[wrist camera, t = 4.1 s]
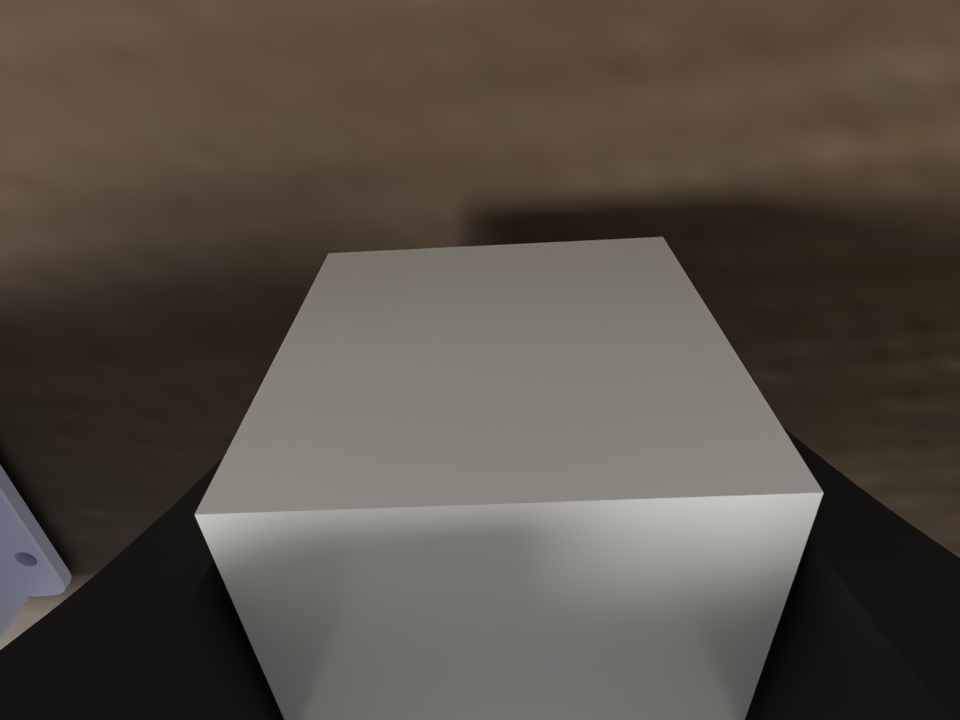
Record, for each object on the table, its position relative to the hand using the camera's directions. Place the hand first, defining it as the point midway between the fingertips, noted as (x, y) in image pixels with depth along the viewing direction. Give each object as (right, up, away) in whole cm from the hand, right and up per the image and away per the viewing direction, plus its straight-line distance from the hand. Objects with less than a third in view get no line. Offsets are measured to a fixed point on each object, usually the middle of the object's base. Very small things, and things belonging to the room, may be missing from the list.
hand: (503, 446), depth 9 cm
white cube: (0, +1, +1) cm, 2 cm away
